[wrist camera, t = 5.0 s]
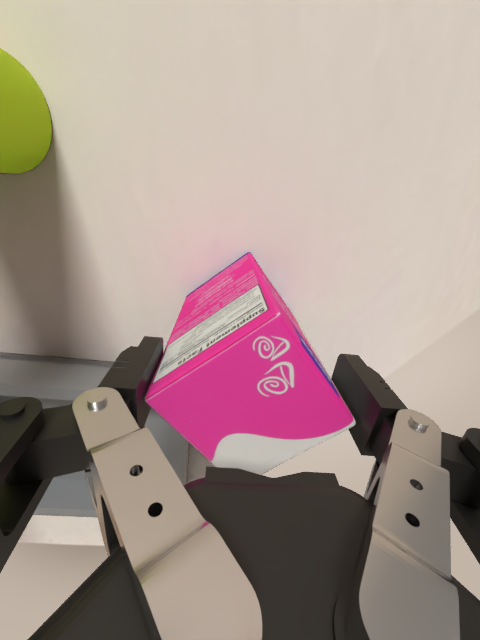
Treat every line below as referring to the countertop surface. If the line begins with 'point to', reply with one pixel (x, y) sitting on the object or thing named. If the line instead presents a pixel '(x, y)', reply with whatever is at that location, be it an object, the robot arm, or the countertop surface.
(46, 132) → the soap dispenser
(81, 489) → the tray
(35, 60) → the countertop surface
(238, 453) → the supplement box
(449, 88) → the countertop surface
